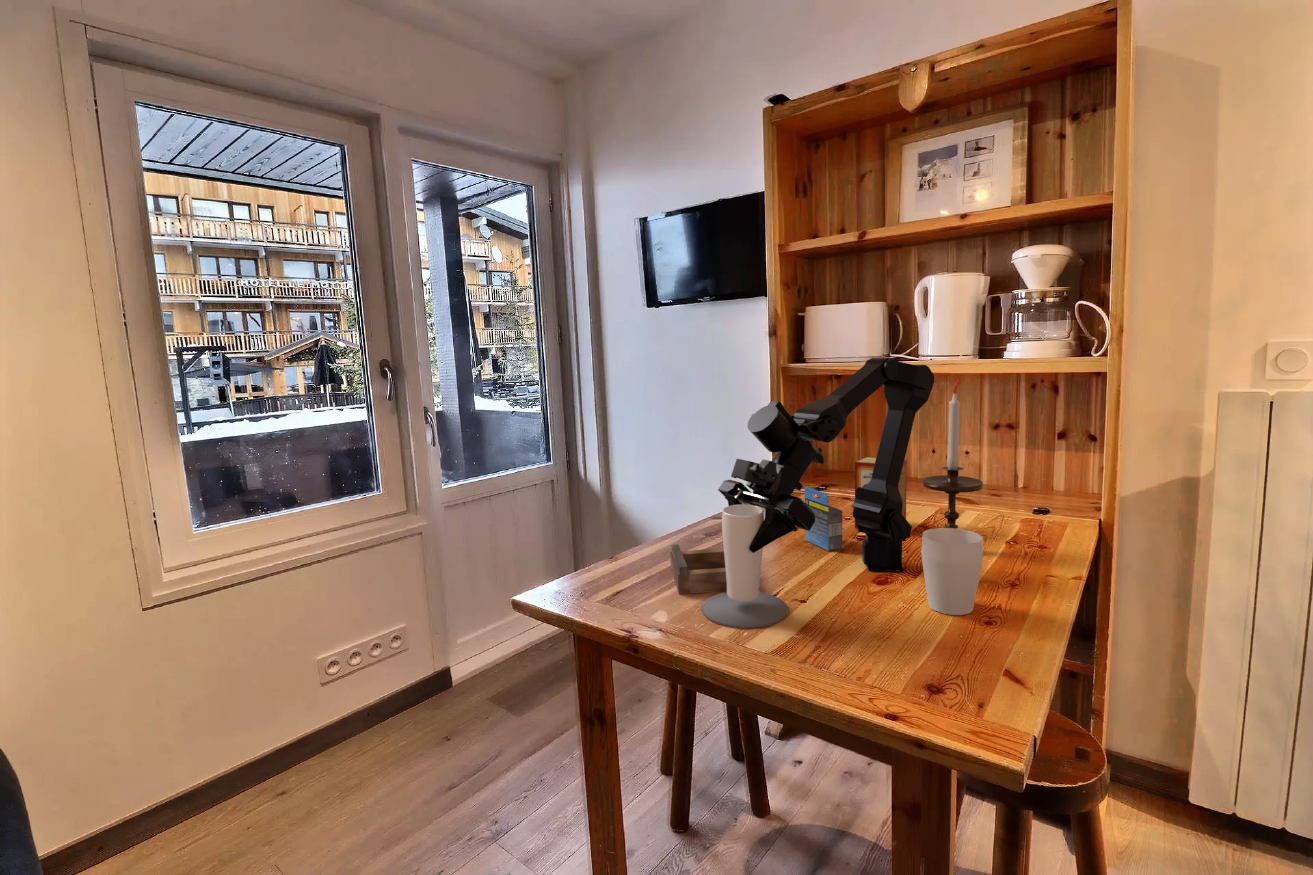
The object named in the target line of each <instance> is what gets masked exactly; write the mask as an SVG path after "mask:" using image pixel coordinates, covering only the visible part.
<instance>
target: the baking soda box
mask: <svg viewBox="0 0 1313 875" xmlns="http://www.w3.org/2000/svg"><path fill="white" fill-rule="evenodd" d="M875 461H876V457H867V456H866V457H862V458H861V459H857V460H856V461H854V496H855V495H856V490H857V488H858V487H863V488H864V487H865V486H866V485H867V484H868V483H869V482H870V480H871V477H872V473H873V469H874V465H875ZM907 464H908V460H907V459H904V463H903V468H902V472H901V476H900V480H899V484H898V489H899V492H900V495H901V498H902V501H903V507H902V515H903V516H904V518H905V519H906V520H907V475H908V474H907V473H908V471H907V470H908V467H907V466H908V465H907ZM854 528H855V529H857V525H856V522H855V521H854Z"/></svg>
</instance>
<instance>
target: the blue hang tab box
mask: <svg viewBox="0 0 1313 875" xmlns="http://www.w3.org/2000/svg"><path fill="white" fill-rule="evenodd" d="M803 487H804V488H803V489H804V503H805V504H806V505H807V506H808V507H809V508H810V509H811V510H812V511H813V512H814V513H815V523H814V524H813V526H812V527H811V529H810V531H807V530H805V534H804V535H805V536H804V537H805V542H808V543H811V544H813V545H815V546H817V547H820V548H822V549H823V550H825V551H826V552H830V551H831V552H832V551H838V550H843V510H842V509H839V508H837V507H834V506H832V505H829V499H828V493H826V492H823V491H820V490H817V489H814V488H811V487H808V486H806V485H804V486H803ZM813 495H814V496H813ZM815 495H816V496H817V497H816V496H815ZM818 497H819V498H818Z"/></svg>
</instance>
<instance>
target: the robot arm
mask: <svg viewBox="0 0 1313 875" xmlns="http://www.w3.org/2000/svg"><path fill="white" fill-rule="evenodd" d="M934 384H935V375H934V373H933V372H932V370H931V368H930V366H928V365H926V364H911V363H907V362H902V361H899V360H896V359H893V358H891V357H871V358H869V359H868V360H866V361H865V363H864V365H863V366H861V367H860V368H859V369H858V370H857V371H855V373H854V374H852V375H851V376H850V377H849V378H847V379H846V380H845V381H844V382H843V383H842V384H840V385H839V386H838V387H836V388H835V389H834V390H833V391H832V392H831V393H830V394H828V395H826V396H825V397H822V398H819V399H816V400H812V401H809V402H808V403H806V404H805V405H803V406H801V407H799V408H798V409H797V410H796V411H795V413H794V414H792V415H791V414H789V413H790V412H788V411H787V410H786V408H785V407H784V405H783V404H782V403H781V401H778V400H770V401H769V403H768V404H767V405H765V406H763V407H762V408H759V409H758V410H757V411H755V413H752V414H751V416H750V417H749V419H748V421H747V424H746V425H747V429H748V431H749V432H750V433H751V434H752V435H753V436H754V437H755V438H756V439H757V441H758V442H759V443H760V444H761V445H762V446H763V447H764V448H765V449H766V450H767V452H770V453H775V455H774V457H773V458H772V460H768V459H762V460H761V461H760V462H759V463H758V462H754V461H751V460H745V459H741V458H736V459H735V461H734V462H735V463H734V466H733V469H732V471H731V475H730V477H731V478H733V479H740V480H742V481H745V482H746V484H745V485H744V483H743V482H741V481H738V480H737V481H736V480H733V479H726V480H723V481H722V482H721V484H720V486H719V487H718V489H717V490H718V492H719V493H720V494H721V495H722V496H723V497H724V499H726V501H727V504H728V506H731V505H739V504H745V505H754V506H757V507H760V508H762V509H764V521H763V523H762V525H761V527H760V528H759V530H758V532H757V534H756V535H755V537H754V539H753V541H752V543H751V545H750V547H749V550H750V551H751V552H753V553H755V552H756V551H758V550H760V549H761V548H763V549H764V548H765V547H766V546H768V545H769V544H771V543H772V542H774V541H776V540H777V539H780V538H782V537H784V536H786V535H787V534H790V533H791V532H797V531H798V529H801V530H807V531H810V529H811V527H812V526H813V524H814V523H815V513H814V512H813V511H812V510H811V509H810V508H809V507H808V506H807V505H806V504H805V501H804V500H803V499H802V498H801V497H799V496H798V497H797V496H795V495H792V494H793V493H794V491H798V492H801V490H802V488H803V487H804V486H803V484H802V483H801V480H802V478H803V477H804V475H805V474H806V472H807V471H808V470H809V468H810V466H811V464H812V463H814V464H820V465H823V464H824V463H825V459H824V455H823V453H822V449H823V448H821V447H817V446H814V445H813V443H812V442H813V441H815V442H821V443H831V442H833V441H834V440H836V438H837V437H838V436H839V435H840V433H841V432H842V431H843V430H844V429H845V427H846V426H847V420H848V419H847V418H848V417H849V415H850V414H851V413H853V412H854V410H856V409H857V408H858V407H859V406H860V405H862V404H863V402H865V401H866V400H867V399H868V398H870V397H871V396H872V395H874V393H875V392H877V391H878V389H880V388H881V387H882V386H883V395H884V399H885V400H886V401H885V402H886V404H887V407H888V408H887V410H886V411H887V412H886V416H885V421H884V425H883V429H882V433H881V437H880V441H879V444H878V450H877V454H876V457H875V458H876V461H875V465H874V469H873V473H872V477H871V480H870V482H869V483H868V484H867V485H866V486H865V487H864V488H863V487H858V488H857V490H856V495H855V494H854V500H853V502H852V504H851V508H853V509H852V517H853V519H854V523H855V522H856V525H857V528H856V529H857V532H858V533H862V534H865V535H864V537H865V539H863V540H862V542H861V543H862V544H861V545H862V546H861V547H862V550H861V553H862V554H861V560H862V562H863V564H864V565H865V566H866V568H867V571H871V572H874V571H875V572H904V571H905V567H904V566H903V542H906V541H907V539H910V538H911V534H912V530H913V526H912V524H910V522H909V521H908V520H907V518H906V519H905V518H904V516H903V515H902V507H903V501H902V498H901V495H900V492H899V489H898V484H899V480H900V476H901V472H902V468H903V463H904V460H906V459H905V458H906V455H907V450H908V447H909V442H910V438H911V434H912V431H913V425H914V421H915V418H916V414H917V412H918V411H920V409H921V408H922V407H923V406H924V405H925V404H926V403H927V402H928V401H929V399H930V395H931V392H932V390H933V387H934ZM811 441H812V442H811ZM750 489H751V490H752V492H751V490H750ZM721 538H722V537H721ZM721 540H723V538H722V539H721Z"/></svg>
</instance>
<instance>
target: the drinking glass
mask: <svg viewBox="0 0 1313 875" xmlns="http://www.w3.org/2000/svg"><path fill="white" fill-rule="evenodd" d="M721 515H722V516H721V517H722V518H721V534H722V537H721V538H723V539H722V546H723V547H722V548H723V549H724V559H725V570H726V581H727V590H726V592H727V595H728V597H729V598H730V599H731V600H733V601H736V602H751V601H754V600H756V599H757V598H758V597H759V592H760V583H761V571H762V569H761V568H762V560H763V558H762V557H763V549H764V547H763V548H761V549H760V550H758V551H756V552H755V553H753V552H751V551H750V550H749V547H750V545H751V543H752V541H753V539H754V537H755V535H756V534H757V532H758V530H759V528H760V527H761V525H762V523H763V521H764V519H765V510H764V508H762V507H758V506H754V505H745V504H739V505H731V506H729V505H728V506H725V507H724V508H722V514H721Z"/></svg>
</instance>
